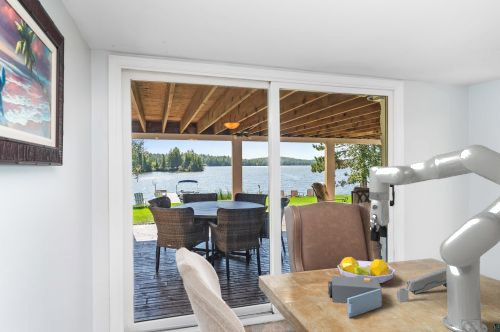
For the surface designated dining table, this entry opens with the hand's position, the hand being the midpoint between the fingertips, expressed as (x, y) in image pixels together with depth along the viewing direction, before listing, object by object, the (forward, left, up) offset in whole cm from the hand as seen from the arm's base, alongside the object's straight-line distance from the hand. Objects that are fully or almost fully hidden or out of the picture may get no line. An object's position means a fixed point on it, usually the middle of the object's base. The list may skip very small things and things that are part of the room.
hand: (378, 239), depth 127 cm
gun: (+19, -25, -27) cm, 41 cm away
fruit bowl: (+29, +3, -27) cm, 40 cm away
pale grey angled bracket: (+6, -11, -27) cm, 29 cm away
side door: (-9, +6, -26) cm, 28 cm away
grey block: (+4, +9, -26) cm, 28 cm away
